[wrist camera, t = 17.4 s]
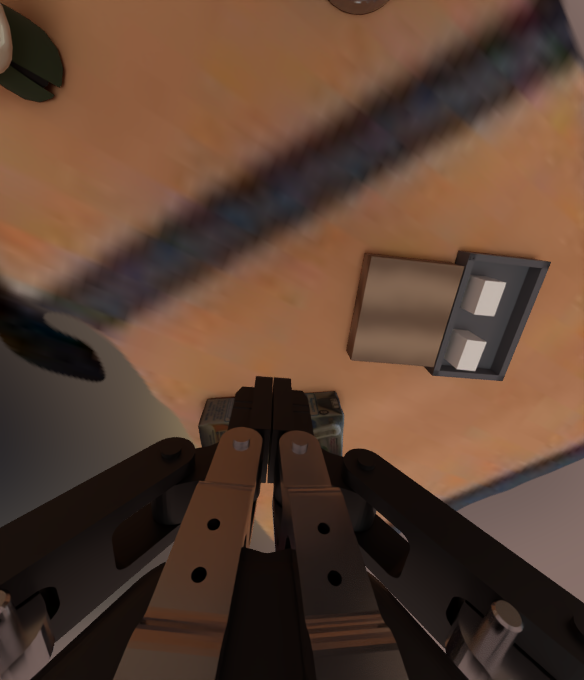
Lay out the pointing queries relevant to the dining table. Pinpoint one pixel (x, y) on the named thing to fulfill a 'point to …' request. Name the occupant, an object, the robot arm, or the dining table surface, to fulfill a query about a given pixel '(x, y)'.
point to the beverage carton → (322, 411)
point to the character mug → (27, 57)
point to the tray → (507, 320)
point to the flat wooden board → (402, 309)
